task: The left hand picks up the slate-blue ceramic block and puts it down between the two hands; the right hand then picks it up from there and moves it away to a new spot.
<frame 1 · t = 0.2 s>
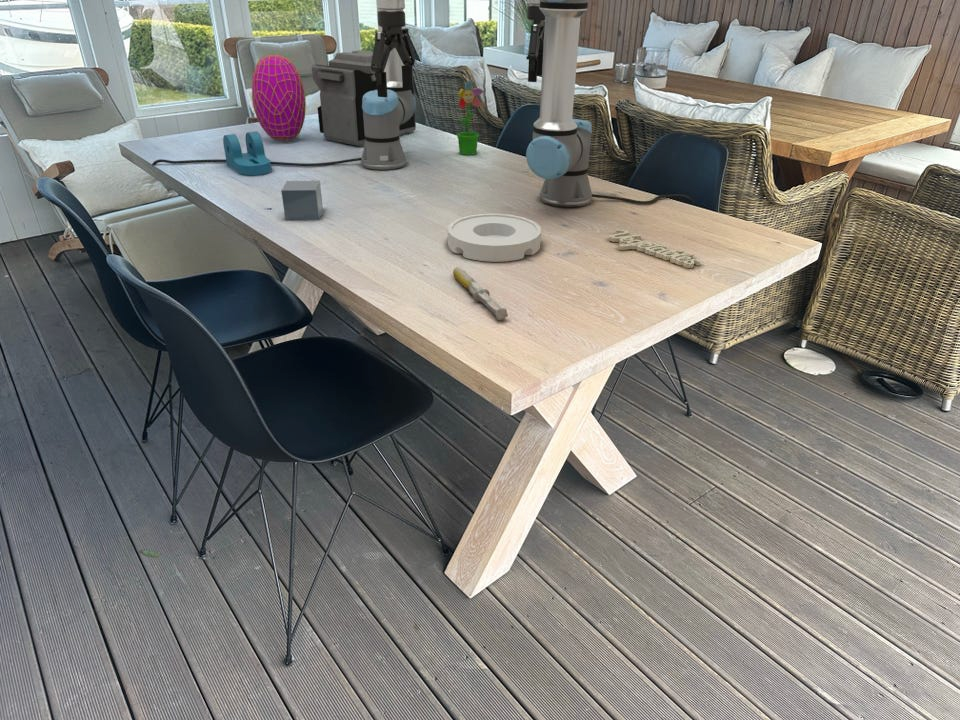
left hand: (535, 78, 223), 28 cm above the table, tool pointing down, fingers open, 13 cm apart
right hand: (395, 93, 197), 28 cm above the table, tool pointing down, fingers open, 13 cm apart
electronic device: (368, 136, 272), on the table
block: (304, 214, 190), on the table
potted flower: (468, 153, 251), on the table
syringe: (478, 297, 145), on the table
ashtray: (494, 244, 171), on the table
decorative sign: (649, 251, 169), on the table
decorative egg: (284, 140, 265), on the table
camera mount: (251, 168, 229), on the table
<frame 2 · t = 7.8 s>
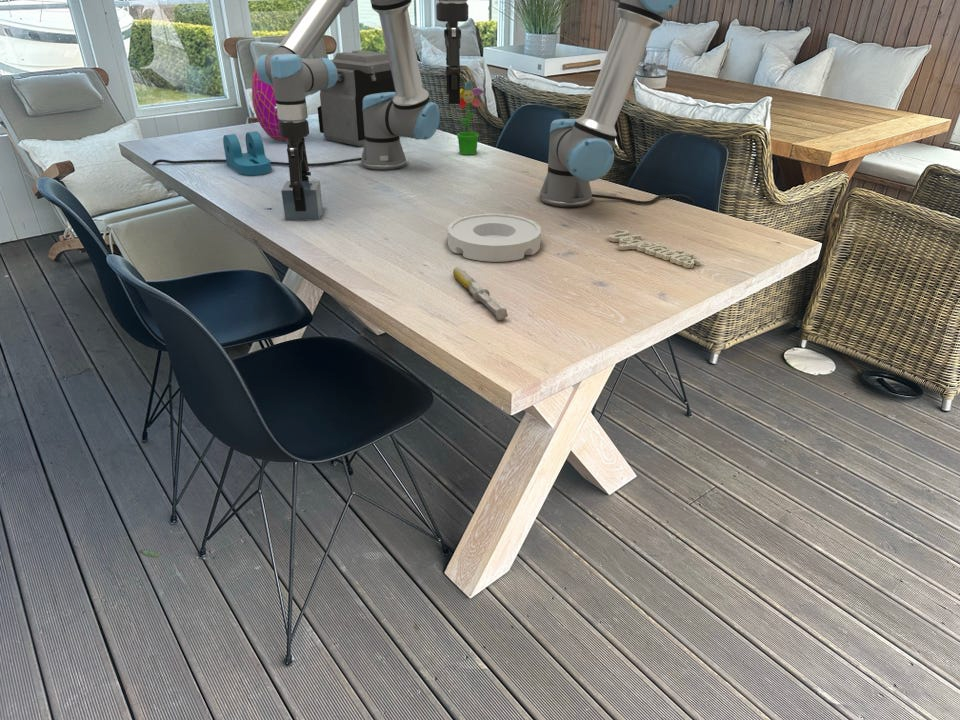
left hand: (303, 205, 188), 3 cm above the table, tool pointing down, fingers closed on block, 9 cm apart
right hand: (453, 98, 170), 32 cm above the table, tool pointing down, fingers open, 13 cm apart
block: (304, 214, 190), on the table, touching left hand
everything else where it was.
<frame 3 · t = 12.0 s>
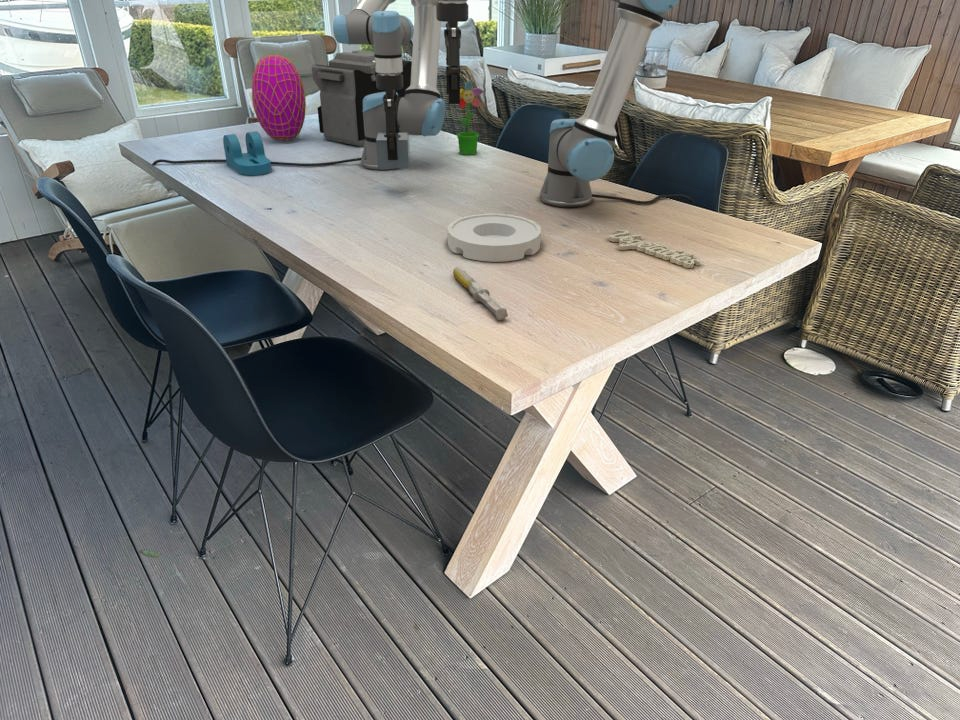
left hand: (393, 155, 202), 11 cm above the table, tool pointing down, fingers closed on block, 9 cm apart
right hand: (453, 98, 170), 32 cm above the table, tool pointing down, fingers open, 13 cm apart
block: (394, 164, 204), point 9 cm above the table, touching left hand
everything else where it was.
when the left hand's fingers open (4 cm above the table, at t = 16.6 s): block drops 1 cm, on the table.
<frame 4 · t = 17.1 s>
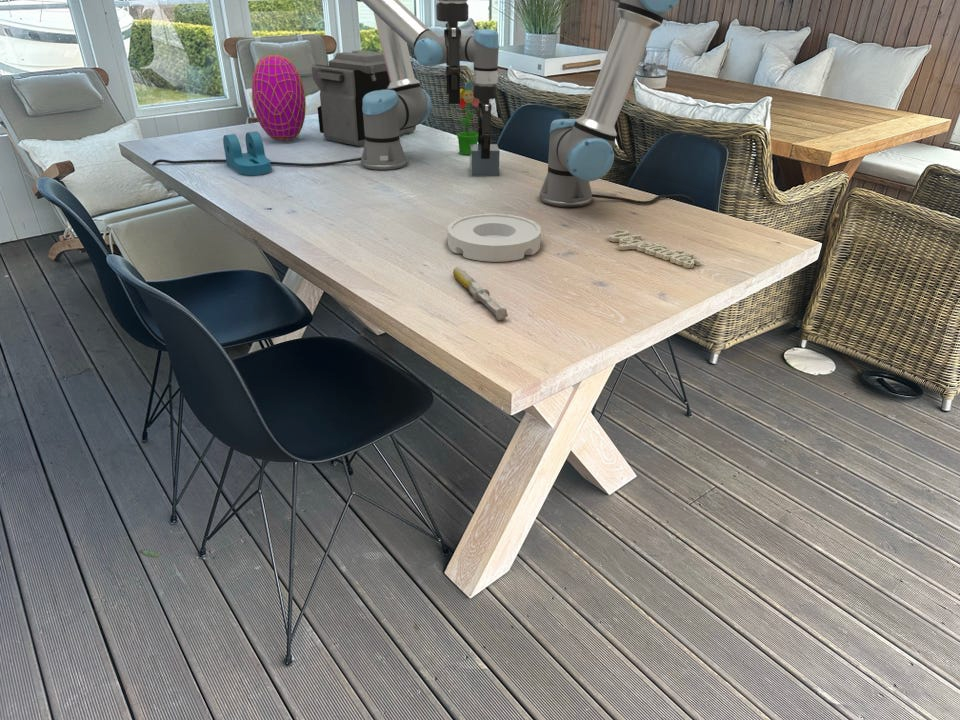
left hand: (483, 153, 226), 6 cm above the table, tool pointing down, fingers open, 13 cm apart
right hand: (453, 98, 170), 32 cm above the table, tool pointing down, fingers open, 13 cm apart
block: (484, 172, 229), on the table
everything else where it was.
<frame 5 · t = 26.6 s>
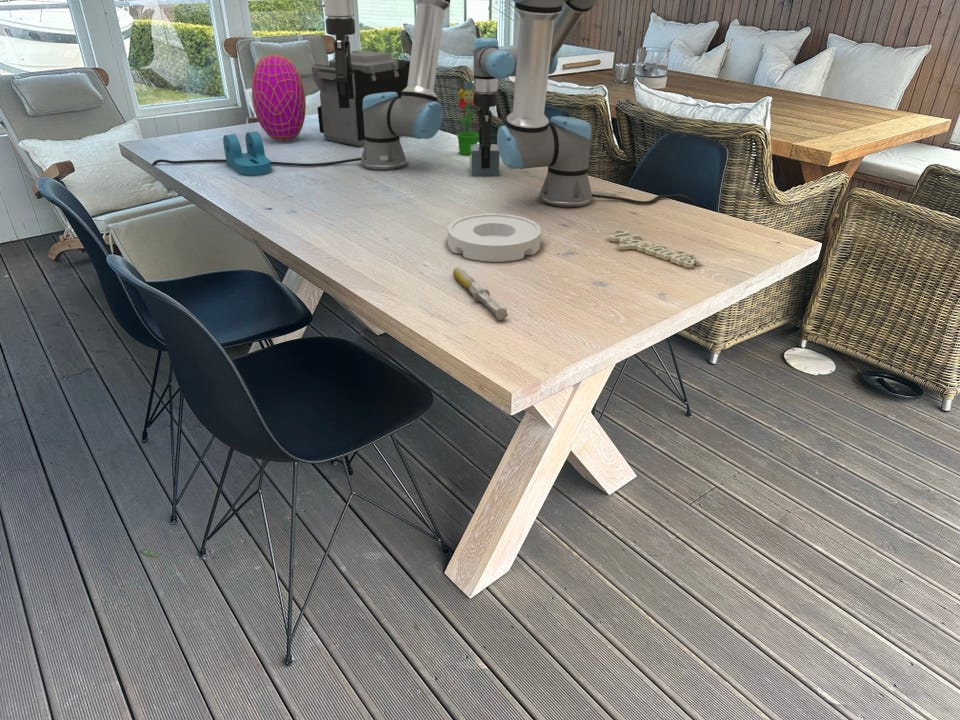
left hand: (346, 103, 189), 27 cm above the table, tool pointing down, fingers open, 13 cm apart
right hand: (484, 164, 227), 3 cm above the table, tool pointing down, fingers closed on block, 9 cm apart
block: (484, 172, 229), on the table, touching right hand
everything else where it was.
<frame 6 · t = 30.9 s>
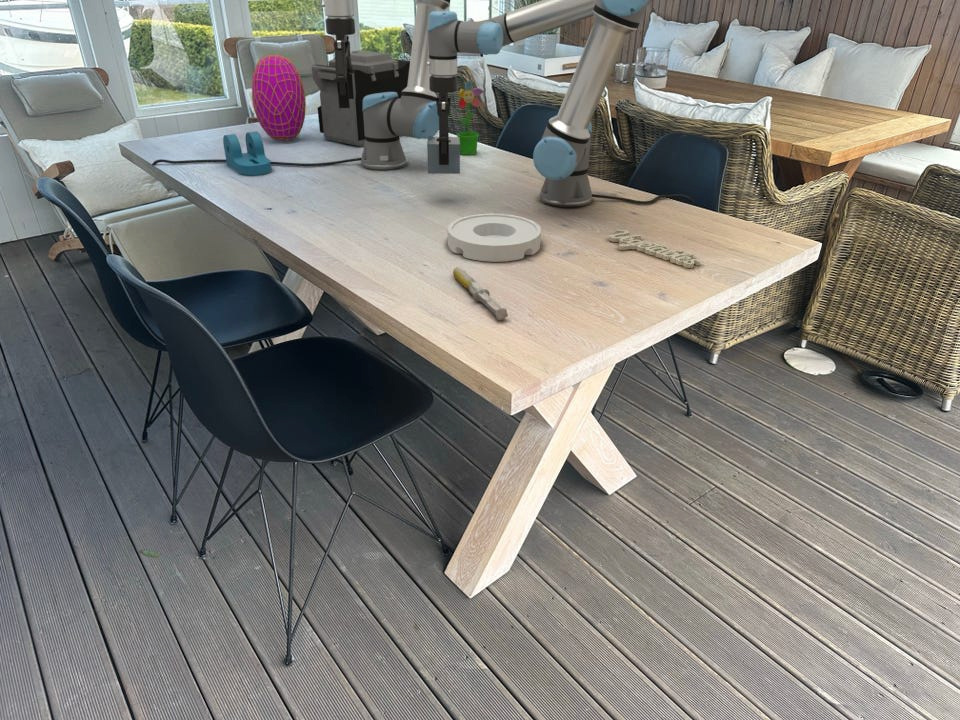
left hand: (346, 103, 189), 27 cm above the table, tool pointing down, fingers open, 13 cm apart
right hand: (444, 160, 196), 12 cm above the table, tool pointing down, fingers closed on block, 9 cm apart
block: (443, 169, 197), point 9 cm above the table, touching right hand
everything else where it was.
when the right hand's fingers open (4 cm above the table, at t = 35.7 s): block drops 1 cm, on the table.
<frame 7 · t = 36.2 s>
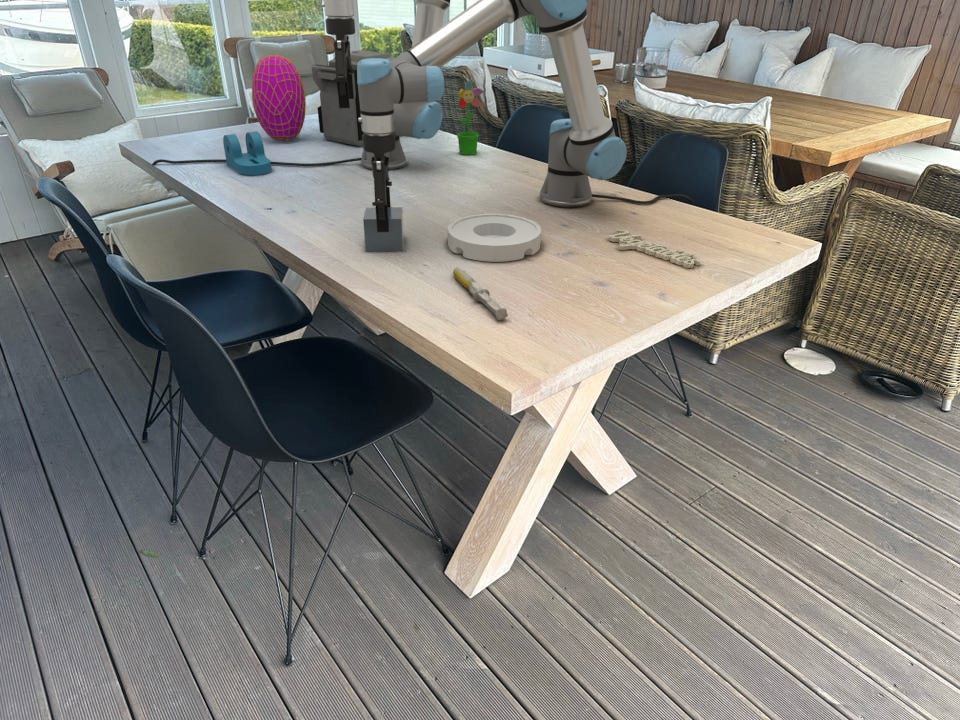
left hand: (346, 103, 189), 27 cm above the table, tool pointing down, fingers open, 13 cm apart
right hand: (384, 222, 168), 6 cm above the table, tool pointing down, fingers open, 13 cm apart
block: (385, 244, 171), on the table
everything else where it was.
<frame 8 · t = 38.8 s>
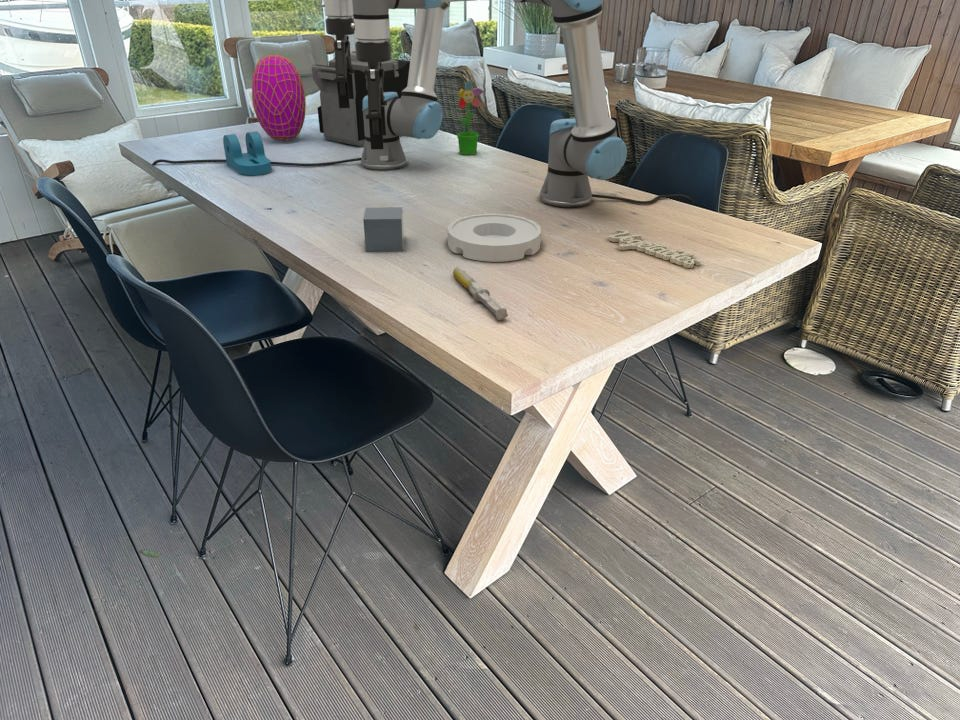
left hand: (346, 103, 189), 27 cm above the table, tool pointing down, fingers open, 13 cm apart
right hand: (378, 142, 158), 25 cm above the table, tool pointing down, fingers open, 13 cm apart
nothing on the table moved.
at the end: block inside the target area (0.0 cm from its centre), on the table; block tilted 0°; the two hands never held the block at the same time; the left hand is holding nothing; the right hand is holding nothing; block at rest at the end (0.0 cm/s) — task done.
